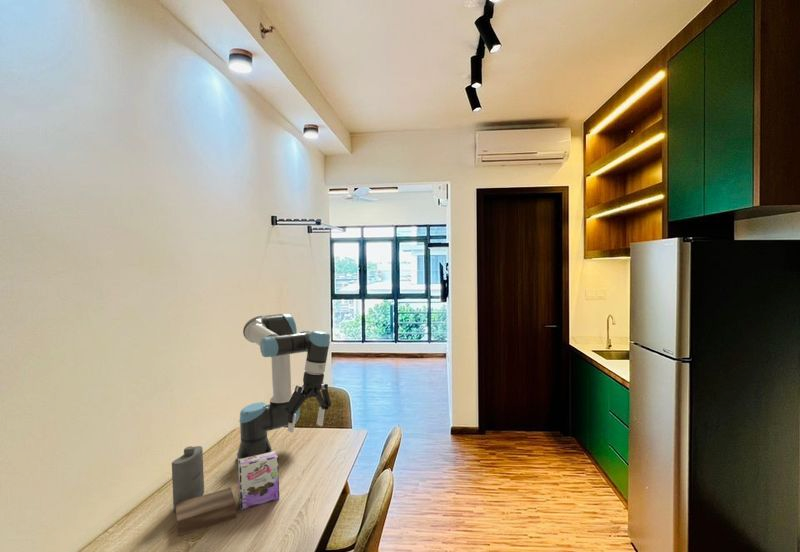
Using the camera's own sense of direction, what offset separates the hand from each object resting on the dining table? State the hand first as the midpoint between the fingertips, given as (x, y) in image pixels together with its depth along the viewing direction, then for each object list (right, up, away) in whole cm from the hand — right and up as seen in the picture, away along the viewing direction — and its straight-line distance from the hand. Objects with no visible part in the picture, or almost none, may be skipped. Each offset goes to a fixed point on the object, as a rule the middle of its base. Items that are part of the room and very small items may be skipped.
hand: (305, 428), depth 152 cm
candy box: (-17, -27, -2) cm, 32 cm away
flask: (-43, -27, 0) cm, 51 cm away
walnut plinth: (-32, -27, -11) cm, 44 cm away
